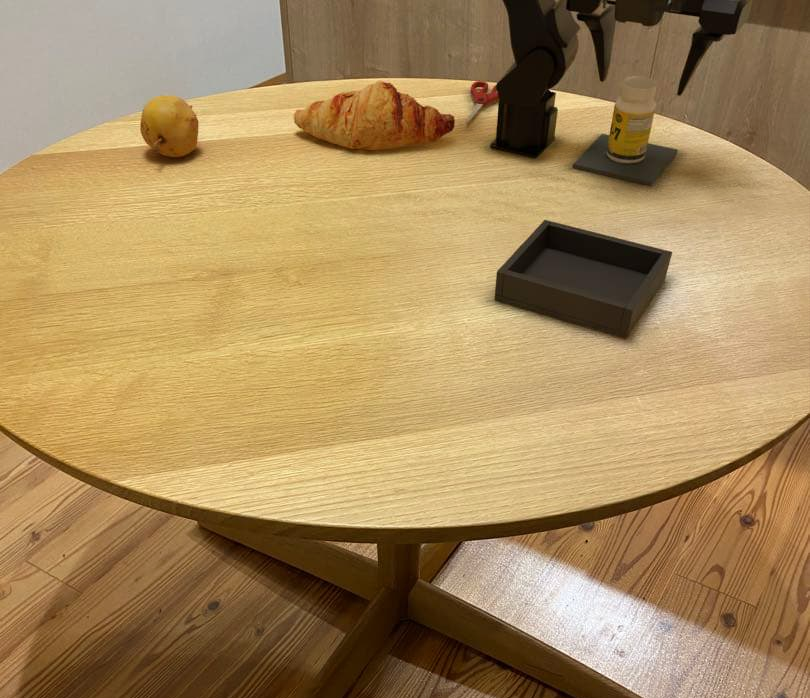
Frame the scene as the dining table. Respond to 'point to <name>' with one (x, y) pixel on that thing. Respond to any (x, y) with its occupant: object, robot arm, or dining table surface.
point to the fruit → (169, 126)
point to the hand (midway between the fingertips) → (640, 87)
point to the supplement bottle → (632, 120)
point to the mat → (636, 172)
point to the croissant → (373, 119)
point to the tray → (583, 277)
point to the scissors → (482, 97)
